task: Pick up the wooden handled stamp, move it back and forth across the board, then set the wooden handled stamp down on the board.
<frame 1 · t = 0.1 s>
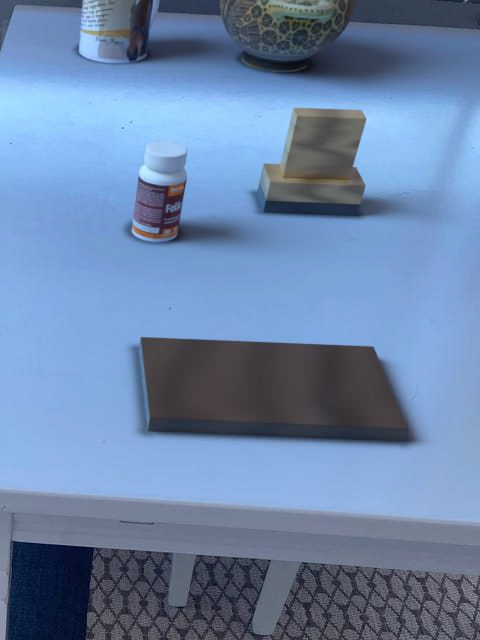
mug: (119, 54, 136), on the table
decorative ceramic pot: (273, 65, 135), on the table
board: (263, 395, 78), on the table
wooden handled stamp: (305, 207, 102), on the table
pill bottle: (154, 236, 97), on the table
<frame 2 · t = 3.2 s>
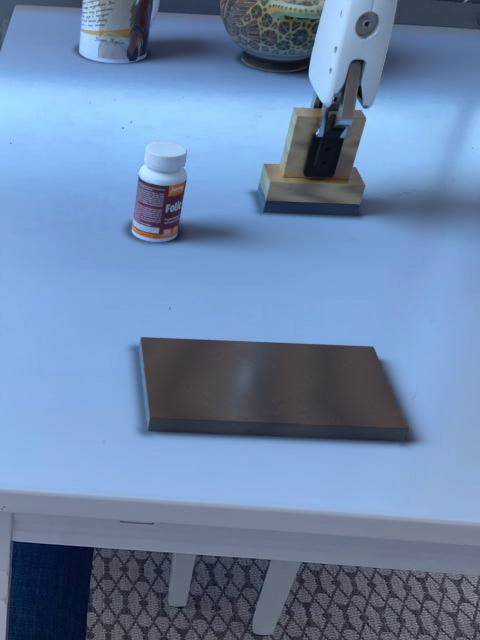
hand: (315, 168, 99), 4 cm above the table, tool pointing down, fingers closed on wooden handled stamp, 2 cm apart
wooden handled stamp: (305, 207, 102), on the table, touching gripper
everything else where it was.
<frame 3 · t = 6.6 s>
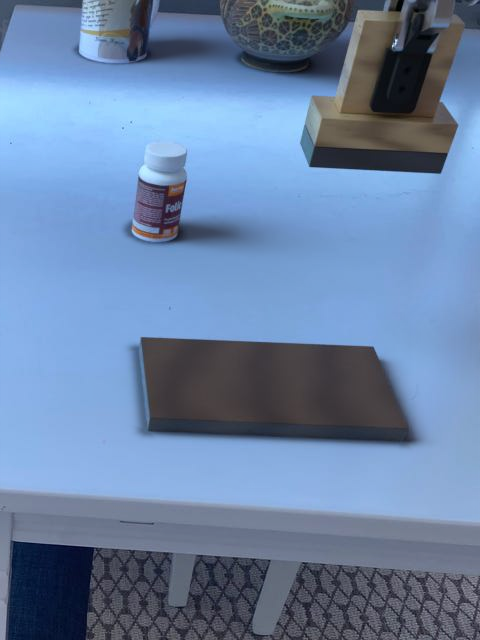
hand: (386, 101, 70), 19 cm above the table, tool pointing down, fingers closed on wooden handled stamp, 2 cm apart
wooden handled stamp: (368, 158, 73), point 15 cm above the table, touching gripper
everything else where it was.
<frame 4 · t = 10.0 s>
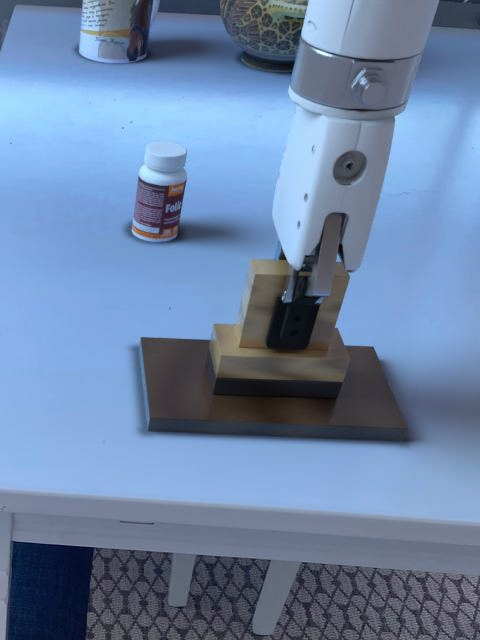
hand: (282, 334, 73), 6 cm above the table, tool pointing down, fingers closed on wooden handled stamp, 2 cm apart
wooden handled stamp: (270, 379, 76), point 2 cm above the table, touching gripper
everything else where it was.
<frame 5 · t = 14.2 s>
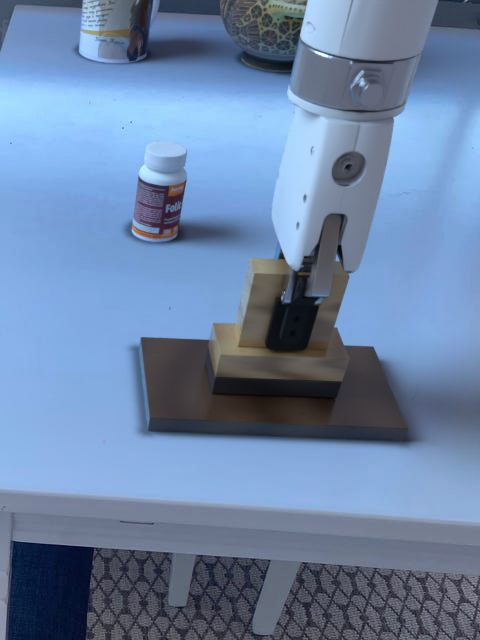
hand: (282, 335, 74), 6 cm above the table, tool pointing down, fingers closed on wooden handled stamp, 2 cm apart
wooden handled stamp: (269, 379, 76), point 2 cm above the table, touching gripper
everything else where it was.
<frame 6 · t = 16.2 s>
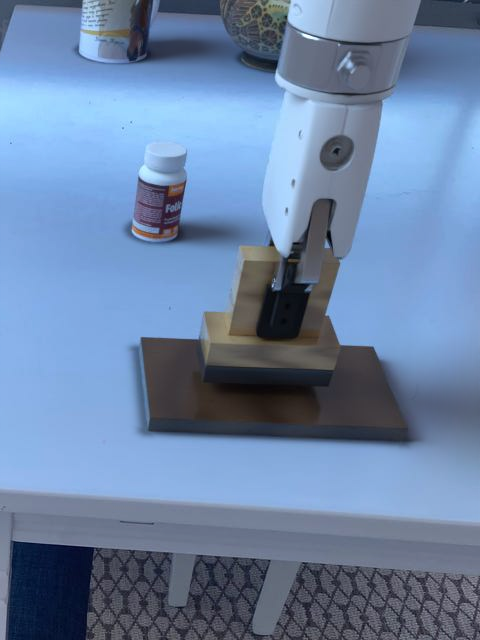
hand: (273, 323, 73), 6 cm above the table, tool pointing down, fingers closed on wooden handled stamp, 2 cm apart
wooden handled stamp: (261, 368, 76), point 2 cm above the table, touching gripper
everything else where it was.
when the fingers open (5 cm above the table, at t = 17.1 s): wooden handled stamp stays where it is, resting on board.
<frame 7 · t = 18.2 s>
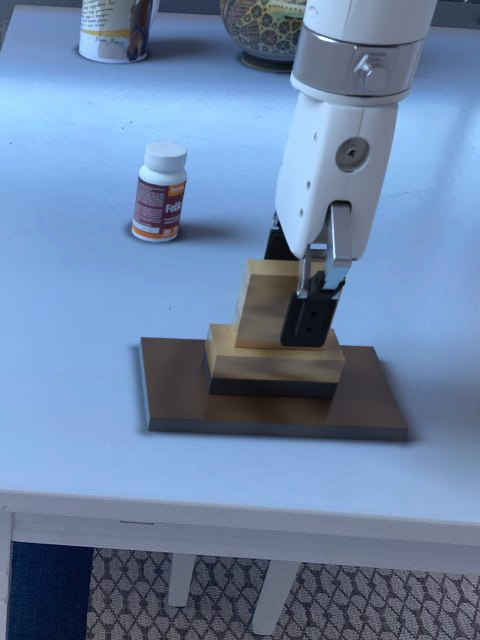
hand: (289, 311, 72), 7 cm above the table, tool pointing down, fingers open, 9 cm apart
wooden handled stamp: (265, 380, 77), point 1 cm above the table, touching board
everything else where it was.
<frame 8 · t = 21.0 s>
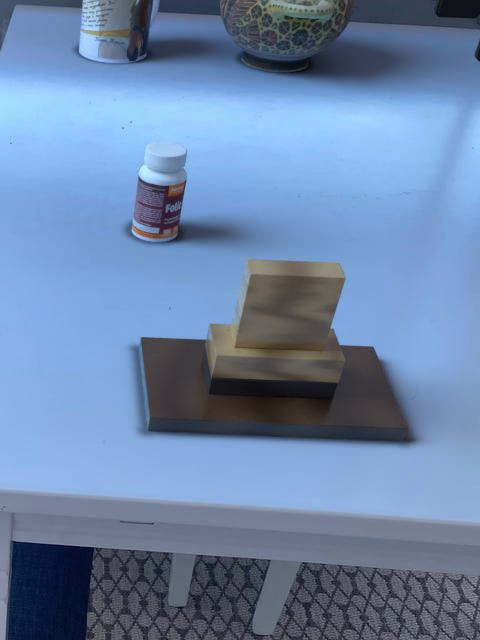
hand: (476, 37, 64), 24 cm above the table, tool pointing down, fingers open, 9 cm apart
nothing on the table moved.
at the end: wooden handled stamp inside the target area on the board (0.1 cm from its centre), point 1.5 cm above the board's base; wooden handled stamp tilted 0°; the gripper is holding nothing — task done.
